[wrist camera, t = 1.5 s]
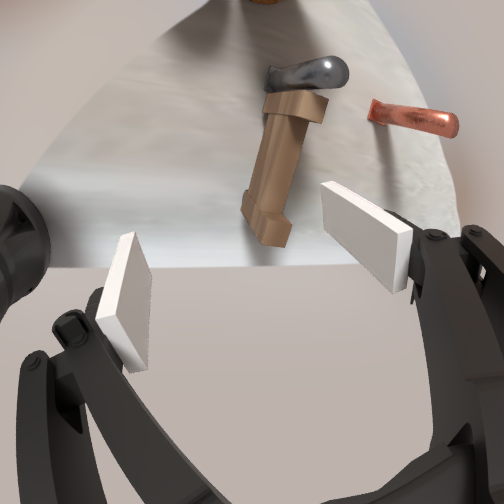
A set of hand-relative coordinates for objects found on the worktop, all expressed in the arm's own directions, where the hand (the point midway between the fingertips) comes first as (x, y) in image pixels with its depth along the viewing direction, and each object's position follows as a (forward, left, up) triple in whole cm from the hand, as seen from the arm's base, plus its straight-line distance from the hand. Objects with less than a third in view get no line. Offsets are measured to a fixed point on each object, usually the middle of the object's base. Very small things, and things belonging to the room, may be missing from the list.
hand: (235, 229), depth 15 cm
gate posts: (+13, +12, -20) cm, 26 cm away
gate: (+6, +3, -19) cm, 20 cm away
